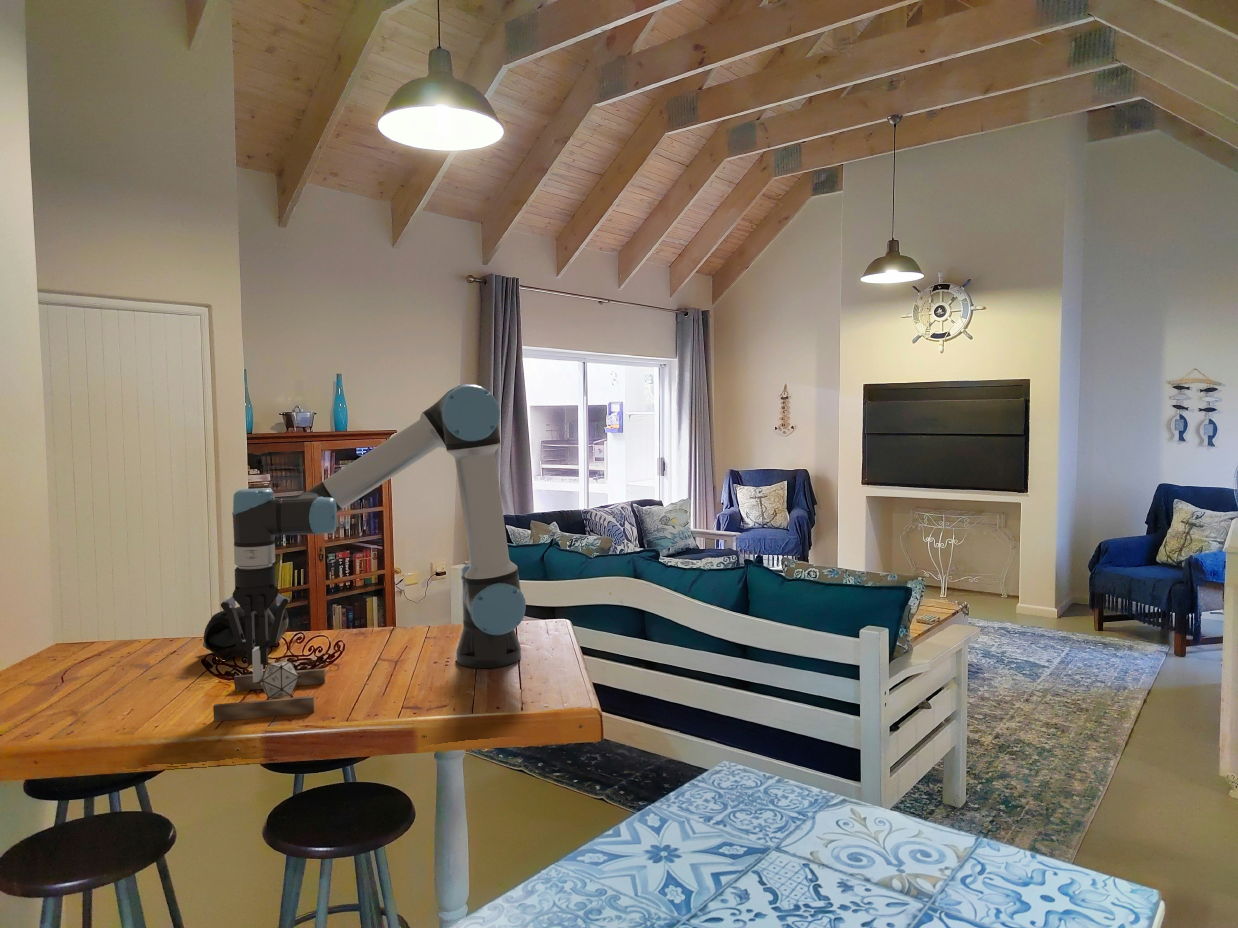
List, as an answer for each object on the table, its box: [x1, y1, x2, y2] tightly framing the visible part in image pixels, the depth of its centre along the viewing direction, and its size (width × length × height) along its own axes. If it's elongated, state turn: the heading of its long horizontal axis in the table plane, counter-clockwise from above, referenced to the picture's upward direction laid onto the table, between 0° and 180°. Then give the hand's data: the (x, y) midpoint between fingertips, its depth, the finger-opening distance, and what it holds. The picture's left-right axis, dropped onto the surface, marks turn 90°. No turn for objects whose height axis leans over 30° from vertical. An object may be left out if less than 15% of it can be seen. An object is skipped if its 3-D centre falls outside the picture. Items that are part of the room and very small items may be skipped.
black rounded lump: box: [202, 600, 289, 661], centre depth 197 cm, size 20×21×13 cm
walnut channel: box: [212, 668, 326, 723], centre depth 162 cm, size 18×18×3 cm
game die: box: [256, 657, 303, 700], centre depth 163 cm, size 9×8×10 cm
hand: (258, 679), depth 162 cm, fingers closed
